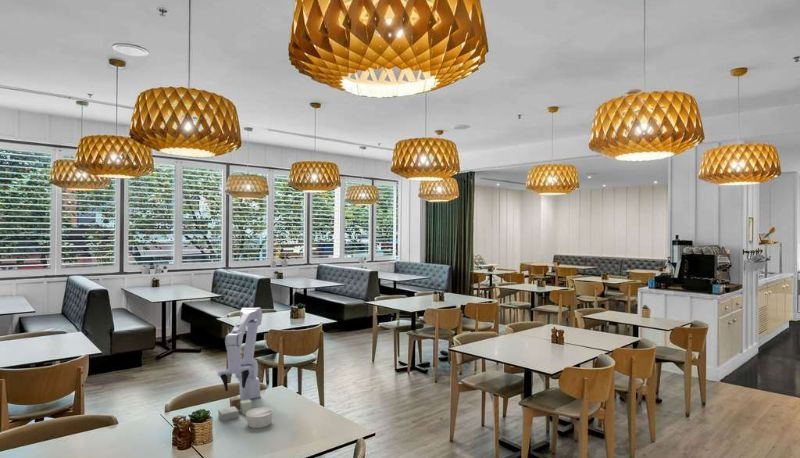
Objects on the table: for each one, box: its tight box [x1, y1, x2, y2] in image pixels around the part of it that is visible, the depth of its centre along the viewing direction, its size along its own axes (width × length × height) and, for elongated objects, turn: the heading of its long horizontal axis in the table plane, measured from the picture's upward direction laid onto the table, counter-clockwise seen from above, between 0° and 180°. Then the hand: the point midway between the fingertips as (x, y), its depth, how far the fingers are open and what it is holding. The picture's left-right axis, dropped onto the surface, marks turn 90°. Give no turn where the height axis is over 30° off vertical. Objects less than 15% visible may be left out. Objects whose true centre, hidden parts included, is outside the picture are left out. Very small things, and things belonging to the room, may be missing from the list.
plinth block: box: [217, 406, 240, 422], centre depth 218 cm, size 7×7×3 cm
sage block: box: [240, 399, 253, 416], centre depth 223 cm, size 4×4×5 cm
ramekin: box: [245, 406, 274, 429], centre depth 209 cm, size 11×11×5 cm
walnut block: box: [229, 395, 241, 411], centre depth 227 cm, size 4×4×5 cm
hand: (235, 388), depth 227 cm, fingers open, 7 cm apart
